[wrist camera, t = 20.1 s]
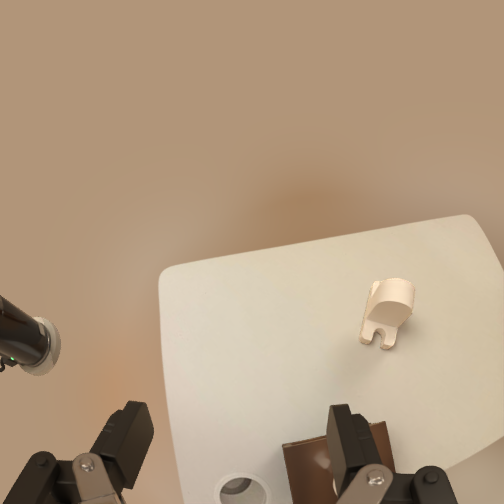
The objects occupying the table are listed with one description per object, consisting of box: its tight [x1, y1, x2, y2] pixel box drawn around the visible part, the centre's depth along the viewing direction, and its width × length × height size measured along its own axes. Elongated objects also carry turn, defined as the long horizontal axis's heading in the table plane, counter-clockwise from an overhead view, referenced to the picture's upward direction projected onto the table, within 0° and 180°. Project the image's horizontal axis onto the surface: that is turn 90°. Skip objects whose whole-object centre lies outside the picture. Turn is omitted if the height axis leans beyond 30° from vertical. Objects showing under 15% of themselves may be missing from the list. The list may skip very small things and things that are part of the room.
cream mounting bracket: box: [359, 278, 415, 349], centre depth 42 cm, size 5×10×10 cm, turn 159°
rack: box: [282, 421, 396, 504], centre depth 31 cm, size 12×9×9 cm
